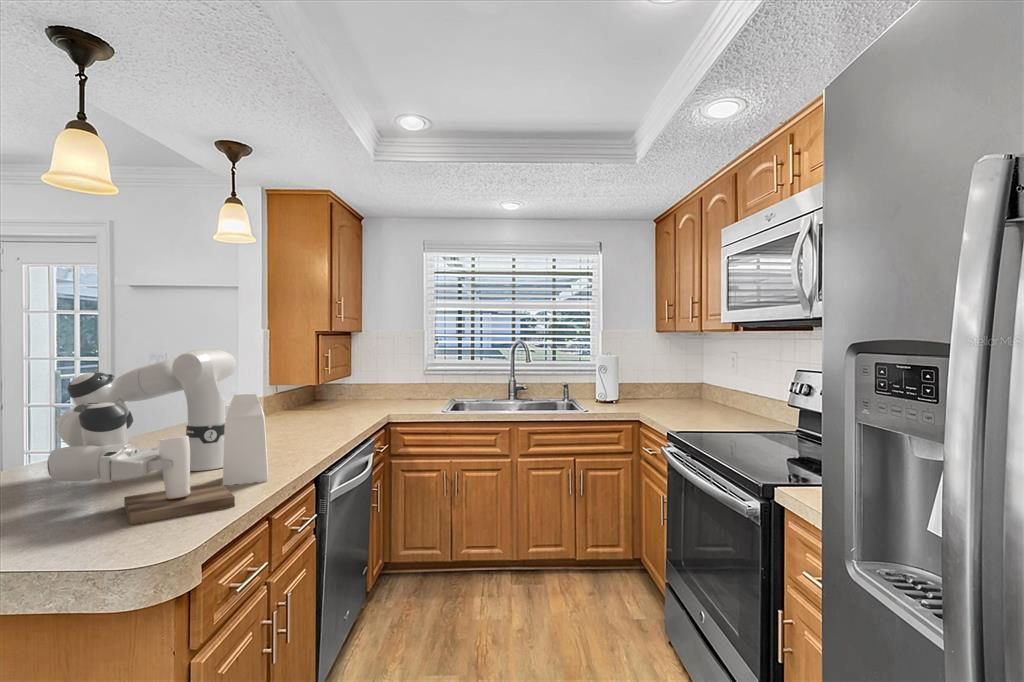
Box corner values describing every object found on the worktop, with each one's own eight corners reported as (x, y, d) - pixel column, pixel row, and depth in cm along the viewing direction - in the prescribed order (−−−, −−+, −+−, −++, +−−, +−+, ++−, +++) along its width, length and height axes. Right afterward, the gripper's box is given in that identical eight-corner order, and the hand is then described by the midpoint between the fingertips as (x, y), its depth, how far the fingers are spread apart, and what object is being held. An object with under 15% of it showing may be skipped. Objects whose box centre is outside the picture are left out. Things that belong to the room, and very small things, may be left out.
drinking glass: (179, 499, 135) (173, 438, 136) (156, 501, 137) (151, 440, 138) (200, 492, 142) (195, 434, 143) (178, 494, 143) (173, 437, 144)
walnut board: (124, 506, 141) (124, 496, 141) (219, 490, 155) (219, 482, 155) (130, 525, 127) (130, 514, 127) (234, 506, 141) (234, 496, 141)
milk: (222, 486, 160) (221, 396, 160) (225, 476, 170) (224, 393, 170) (267, 481, 165) (266, 394, 164) (268, 472, 175) (267, 391, 175)
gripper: (143, 464, 149) (197, 462, 151) (97, 485, 129) (161, 482, 131) (143, 441, 149) (197, 440, 151) (97, 458, 129) (160, 456, 131)
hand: (180, 460), depth 141 cm, fingers open, 8 cm apart
